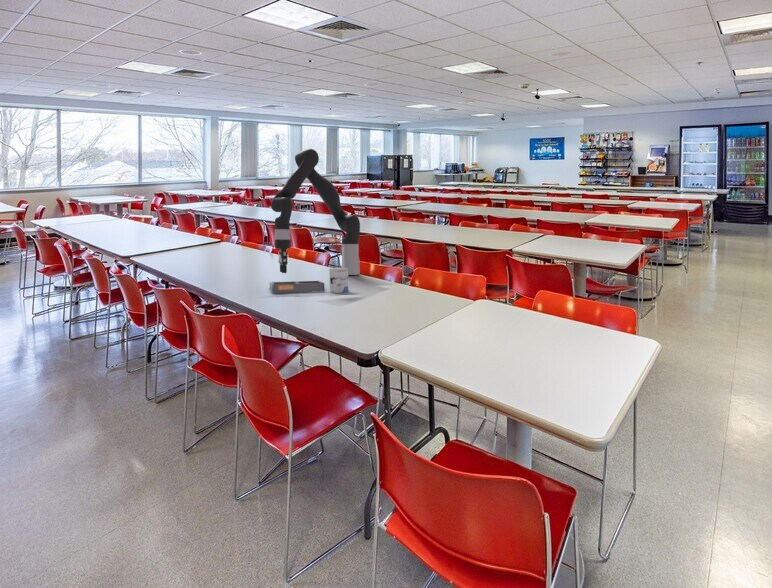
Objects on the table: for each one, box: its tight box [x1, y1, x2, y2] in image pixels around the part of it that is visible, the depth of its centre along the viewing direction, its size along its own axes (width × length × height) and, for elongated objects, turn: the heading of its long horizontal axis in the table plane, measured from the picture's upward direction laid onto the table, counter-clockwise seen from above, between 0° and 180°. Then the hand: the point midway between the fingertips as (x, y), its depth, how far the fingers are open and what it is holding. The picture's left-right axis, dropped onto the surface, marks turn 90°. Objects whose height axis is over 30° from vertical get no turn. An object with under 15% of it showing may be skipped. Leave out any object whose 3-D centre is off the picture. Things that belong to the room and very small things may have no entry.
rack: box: [269, 280, 325, 295], centre depth 238 cm, size 25×14×4 cm, turn 109°
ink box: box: [329, 267, 349, 294], centre depth 234 cm, size 8×5×12 cm, turn 140°
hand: (283, 272), depth 235 cm, fingers open, 7 cm apart
